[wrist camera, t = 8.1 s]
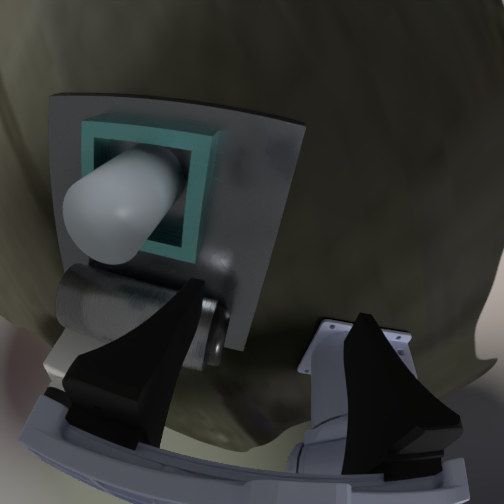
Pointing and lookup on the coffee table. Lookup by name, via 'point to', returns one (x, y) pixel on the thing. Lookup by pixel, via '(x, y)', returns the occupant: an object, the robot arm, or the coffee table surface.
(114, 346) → the robot arm
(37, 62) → the coffee table surface
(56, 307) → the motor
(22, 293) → the coffee table surface
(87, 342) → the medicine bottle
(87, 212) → the white rounded cylinder
